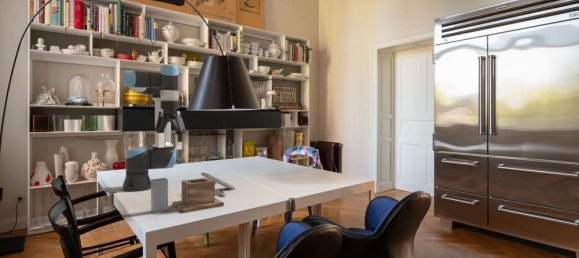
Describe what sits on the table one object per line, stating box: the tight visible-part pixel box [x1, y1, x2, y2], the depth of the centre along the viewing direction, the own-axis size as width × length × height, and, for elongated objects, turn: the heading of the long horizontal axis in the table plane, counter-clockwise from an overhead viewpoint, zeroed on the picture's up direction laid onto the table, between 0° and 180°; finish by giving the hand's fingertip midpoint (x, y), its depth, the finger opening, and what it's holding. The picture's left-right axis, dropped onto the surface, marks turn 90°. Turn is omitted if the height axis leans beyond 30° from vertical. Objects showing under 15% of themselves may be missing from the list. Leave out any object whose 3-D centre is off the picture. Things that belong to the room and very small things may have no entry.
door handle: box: [200, 171, 236, 198], centre depth 176 cm, size 18×8×20 cm
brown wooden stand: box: [172, 177, 225, 214], centre depth 151 cm, size 15×19×12 cm
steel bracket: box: [150, 177, 169, 214], centre depth 141 cm, size 4×6×14 cm, turn 127°
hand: (169, 148), depth 144 cm, fingers open, 13 cm apart
